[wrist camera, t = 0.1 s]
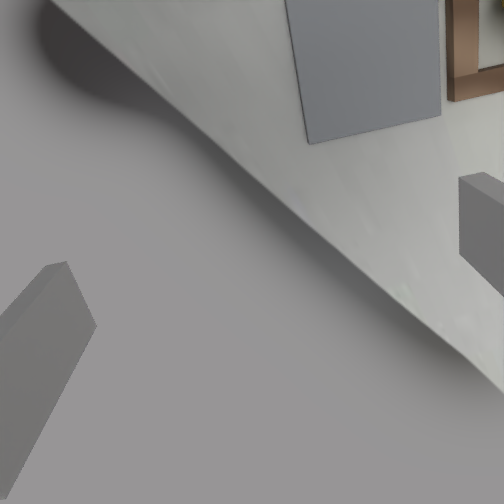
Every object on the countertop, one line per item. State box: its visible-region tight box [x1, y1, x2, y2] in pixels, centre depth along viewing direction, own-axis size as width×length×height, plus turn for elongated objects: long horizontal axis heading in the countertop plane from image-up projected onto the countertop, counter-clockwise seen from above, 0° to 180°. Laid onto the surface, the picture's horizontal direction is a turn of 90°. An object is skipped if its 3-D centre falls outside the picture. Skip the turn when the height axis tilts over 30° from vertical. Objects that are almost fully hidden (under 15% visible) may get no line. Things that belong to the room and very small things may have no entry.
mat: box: [285, 0, 441, 145], centre depth 37 cm, size 12×12×1 cm
